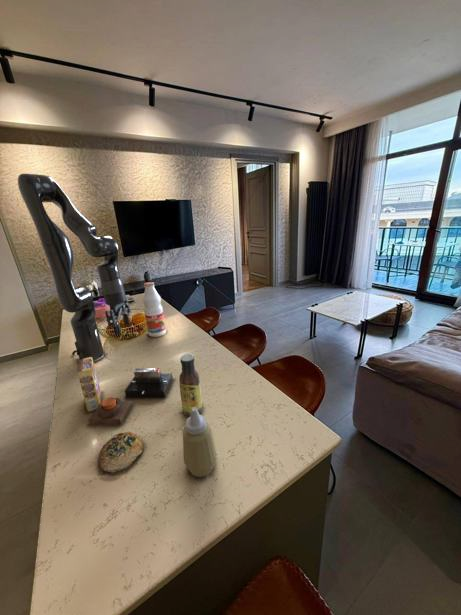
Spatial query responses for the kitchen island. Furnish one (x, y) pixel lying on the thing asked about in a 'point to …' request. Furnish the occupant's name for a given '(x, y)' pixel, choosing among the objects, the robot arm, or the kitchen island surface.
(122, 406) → the button block
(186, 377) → the sauce bottle
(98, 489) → the kitchen island surface
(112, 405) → the button
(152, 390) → the tap base
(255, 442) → the kitchen island surface
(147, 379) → the silver flat block
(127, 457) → the bread roll
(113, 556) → the kitchen island surface
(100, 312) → the soup bowl
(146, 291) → the fruit juice
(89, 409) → the candy box
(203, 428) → the squeeze bottle
